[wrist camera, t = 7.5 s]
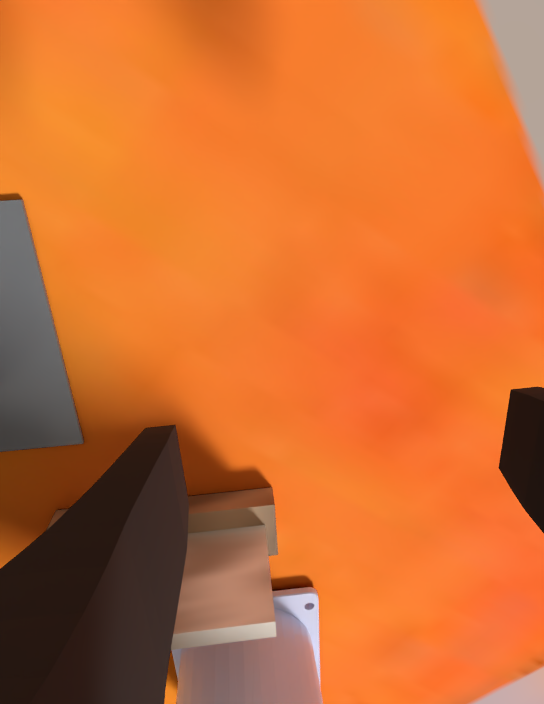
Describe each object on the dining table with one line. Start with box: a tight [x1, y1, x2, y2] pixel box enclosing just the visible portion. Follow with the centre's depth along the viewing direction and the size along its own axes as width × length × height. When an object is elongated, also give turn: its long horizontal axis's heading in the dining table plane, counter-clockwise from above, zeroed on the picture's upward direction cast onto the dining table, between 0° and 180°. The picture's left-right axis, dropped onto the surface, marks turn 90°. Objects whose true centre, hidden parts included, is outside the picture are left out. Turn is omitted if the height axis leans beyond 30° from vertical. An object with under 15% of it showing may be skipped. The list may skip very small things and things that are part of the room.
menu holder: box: [47, 487, 278, 650], centre depth 19 cm, size 10×3×6 cm, turn 93°
